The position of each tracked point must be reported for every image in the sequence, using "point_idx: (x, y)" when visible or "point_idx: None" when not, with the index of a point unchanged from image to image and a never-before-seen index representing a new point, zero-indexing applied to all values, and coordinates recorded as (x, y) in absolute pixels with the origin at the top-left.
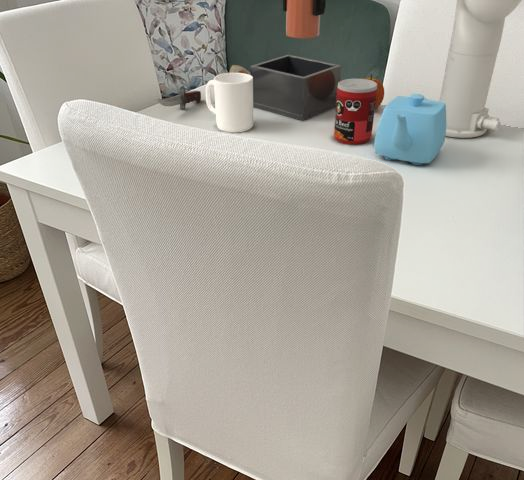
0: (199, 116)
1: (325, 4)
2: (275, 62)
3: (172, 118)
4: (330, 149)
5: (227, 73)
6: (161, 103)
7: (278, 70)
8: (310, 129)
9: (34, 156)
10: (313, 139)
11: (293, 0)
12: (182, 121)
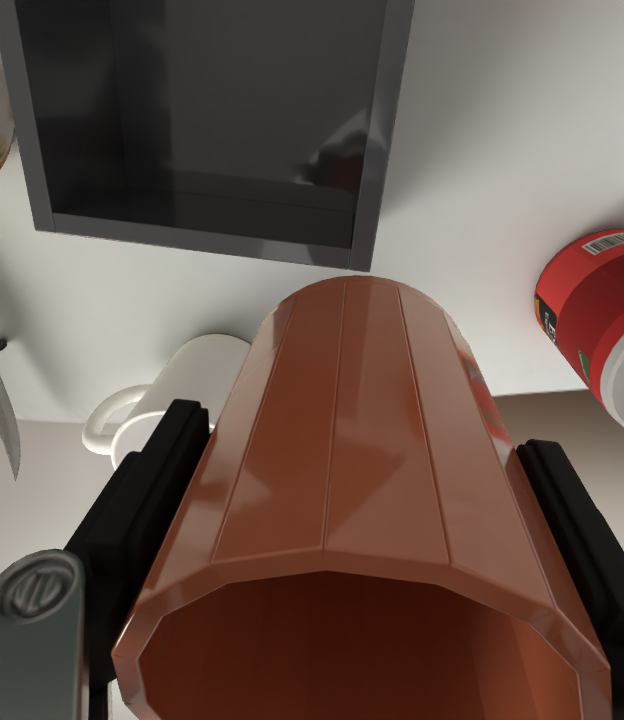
0: (86, 363)
1: (610, 530)
2: (28, 32)
3: (51, 408)
4: (551, 387)
5: (119, 437)
6: (18, 454)
7: (51, 4)
8: (430, 284)
9: None
10: (475, 350)
11: (333, 660)
12: (88, 413)
